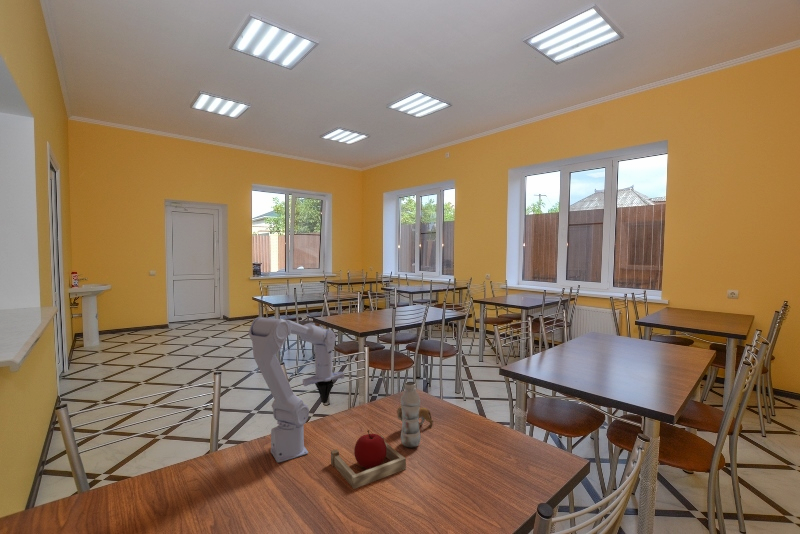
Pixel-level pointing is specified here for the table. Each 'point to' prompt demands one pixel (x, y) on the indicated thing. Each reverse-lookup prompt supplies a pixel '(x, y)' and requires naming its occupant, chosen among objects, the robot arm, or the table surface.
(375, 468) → the corral
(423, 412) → the lion figurine
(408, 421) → the plastic bottle
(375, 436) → the apple
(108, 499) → the table surface
